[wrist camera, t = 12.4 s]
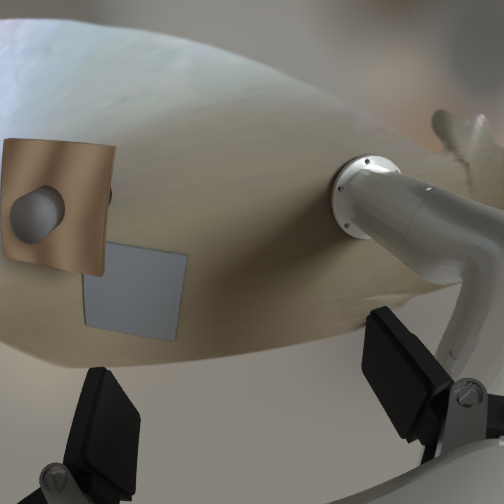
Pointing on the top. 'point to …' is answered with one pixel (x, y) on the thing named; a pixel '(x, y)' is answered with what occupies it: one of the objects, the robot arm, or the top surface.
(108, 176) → the walnut lid
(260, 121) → the top surface
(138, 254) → the rubber mat
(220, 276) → the top surface
